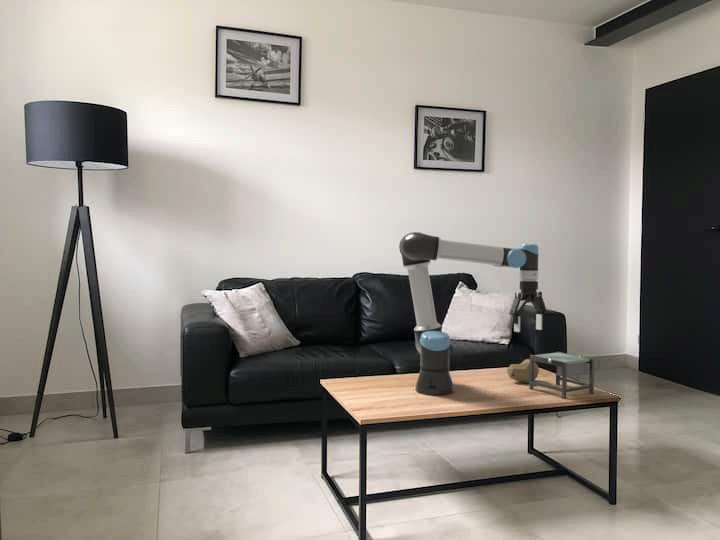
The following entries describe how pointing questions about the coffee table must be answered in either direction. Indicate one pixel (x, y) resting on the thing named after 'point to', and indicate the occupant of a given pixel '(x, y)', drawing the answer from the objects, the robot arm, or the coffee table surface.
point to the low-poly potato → (522, 371)
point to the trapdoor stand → (564, 376)
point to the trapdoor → (569, 363)
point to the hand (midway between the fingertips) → (528, 330)
